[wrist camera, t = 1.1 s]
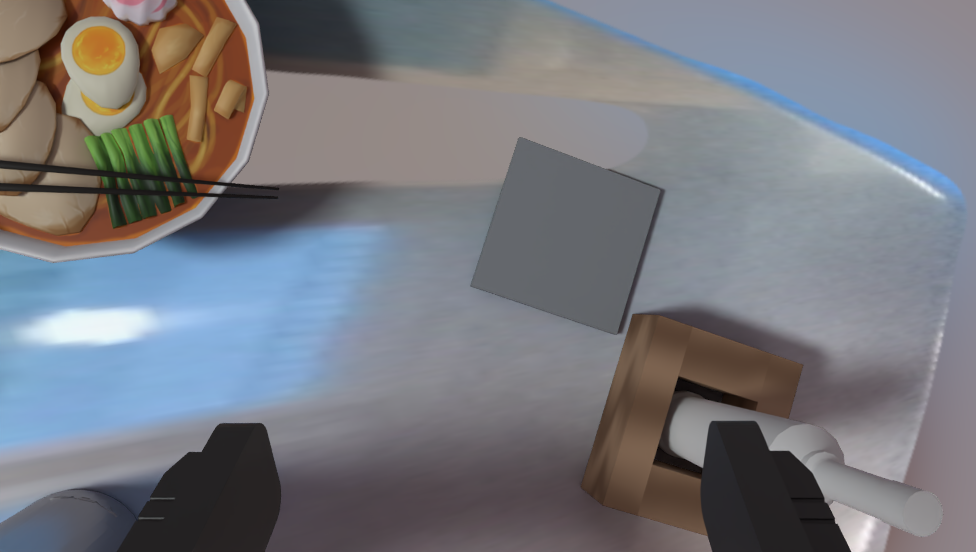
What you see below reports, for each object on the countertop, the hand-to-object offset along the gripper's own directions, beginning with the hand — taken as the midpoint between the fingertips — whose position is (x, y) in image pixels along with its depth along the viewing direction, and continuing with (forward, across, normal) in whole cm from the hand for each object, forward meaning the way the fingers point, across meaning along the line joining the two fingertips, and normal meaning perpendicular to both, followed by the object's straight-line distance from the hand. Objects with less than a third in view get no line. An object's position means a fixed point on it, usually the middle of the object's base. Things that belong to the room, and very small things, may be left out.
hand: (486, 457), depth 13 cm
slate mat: (+40, +4, -15) cm, 43 cm away
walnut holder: (+35, +12, -29) cm, 47 cm away
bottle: (+35, +12, -29) cm, 47 cm away
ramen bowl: (+38, -28, -3) cm, 48 cm away
